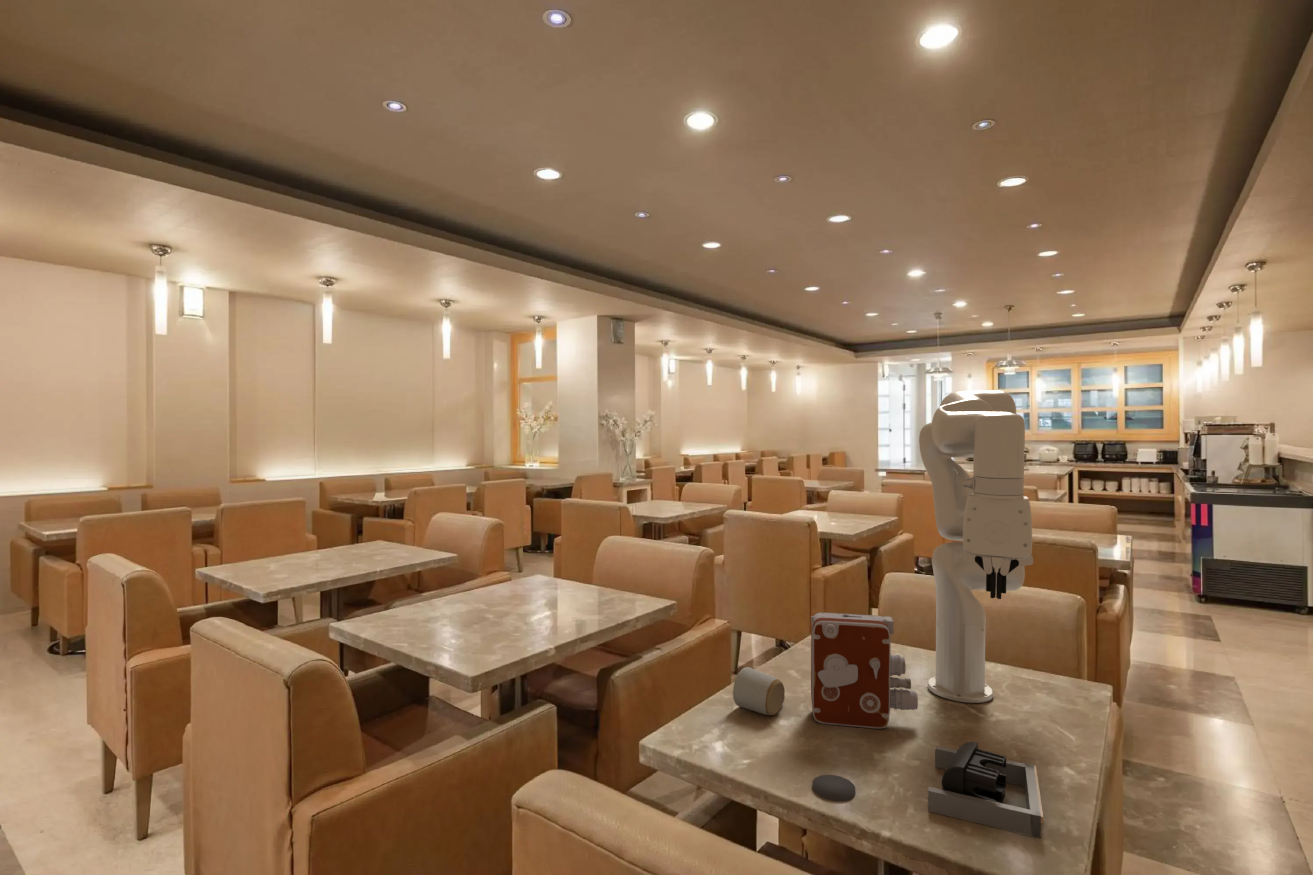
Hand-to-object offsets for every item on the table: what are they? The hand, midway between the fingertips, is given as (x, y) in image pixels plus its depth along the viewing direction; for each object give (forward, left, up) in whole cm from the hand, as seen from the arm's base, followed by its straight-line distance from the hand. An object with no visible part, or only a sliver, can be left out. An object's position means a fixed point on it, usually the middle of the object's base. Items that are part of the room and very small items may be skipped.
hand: (995, 596), depth 111 cm
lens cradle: (+13, -2, -28) cm, 31 cm away
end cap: (+14, -3, -28) cm, 32 cm away
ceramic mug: (-3, -41, -28) cm, 50 cm away
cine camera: (-6, -22, -28) cm, 36 cm away
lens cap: (+21, -22, -28) cm, 42 cm away
